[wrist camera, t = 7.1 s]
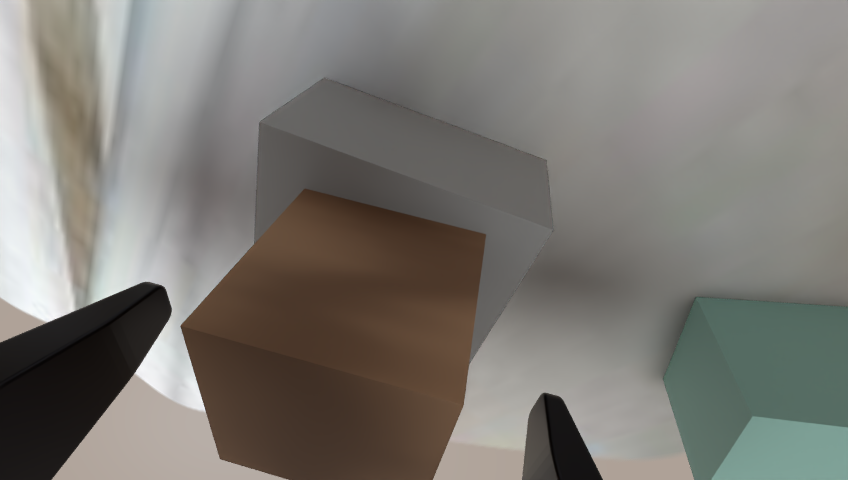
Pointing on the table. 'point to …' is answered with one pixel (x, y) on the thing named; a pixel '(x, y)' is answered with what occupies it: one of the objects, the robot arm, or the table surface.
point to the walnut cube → (340, 343)
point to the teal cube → (762, 390)
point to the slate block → (409, 178)
